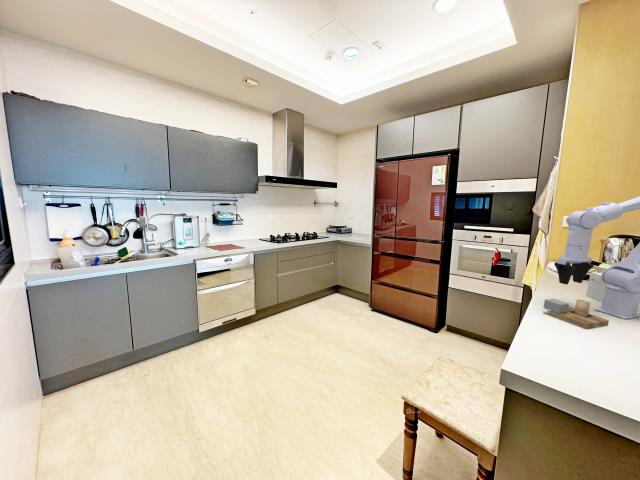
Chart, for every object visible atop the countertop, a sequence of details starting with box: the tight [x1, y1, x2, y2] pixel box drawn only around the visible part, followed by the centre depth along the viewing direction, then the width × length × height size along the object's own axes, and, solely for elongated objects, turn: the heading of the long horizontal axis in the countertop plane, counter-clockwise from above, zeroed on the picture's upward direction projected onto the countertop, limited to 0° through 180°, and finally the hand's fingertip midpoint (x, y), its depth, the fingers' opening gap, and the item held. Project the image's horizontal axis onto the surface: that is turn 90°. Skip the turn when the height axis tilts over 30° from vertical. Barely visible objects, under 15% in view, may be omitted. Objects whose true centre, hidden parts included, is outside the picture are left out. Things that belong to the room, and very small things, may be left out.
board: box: [548, 307, 610, 330], centre depth 84 cm, size 11×10×2 cm
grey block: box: [543, 298, 570, 313], centre depth 87 cm, size 4×4×3 cm
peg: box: [574, 299, 591, 318], centre depth 85 cm, size 3×3×6 cm
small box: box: [585, 271, 606, 303], centre depth 104 cm, size 8×6×10 cm
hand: (570, 283), depth 91 cm, fingers open, 7 cm apart
